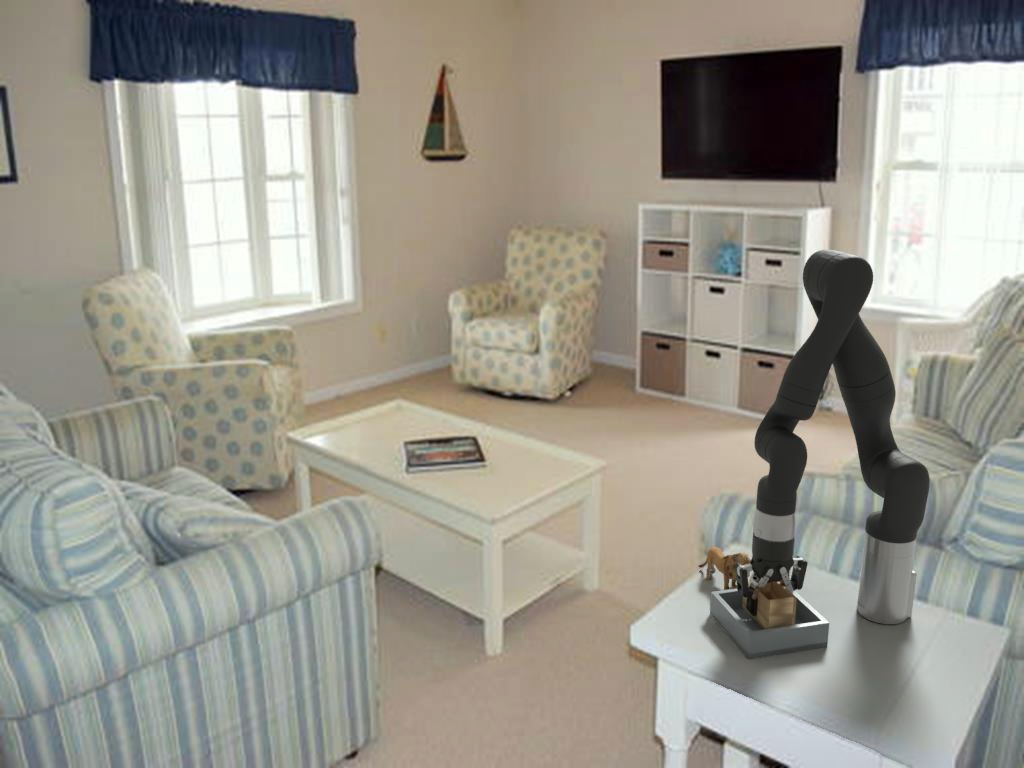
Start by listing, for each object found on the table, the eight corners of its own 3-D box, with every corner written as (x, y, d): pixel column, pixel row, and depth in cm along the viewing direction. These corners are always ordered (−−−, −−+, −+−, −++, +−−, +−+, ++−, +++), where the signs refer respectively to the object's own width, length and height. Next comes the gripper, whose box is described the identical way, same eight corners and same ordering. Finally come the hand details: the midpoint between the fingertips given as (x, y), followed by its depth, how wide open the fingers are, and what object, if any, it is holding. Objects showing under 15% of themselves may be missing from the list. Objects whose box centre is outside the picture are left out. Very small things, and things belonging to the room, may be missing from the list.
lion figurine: (756, 593, 189) (759, 554, 186) (738, 600, 186) (740, 560, 184) (707, 565, 201) (709, 528, 198) (688, 571, 198) (690, 534, 196)
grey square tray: (783, 604, 185) (784, 581, 183) (827, 646, 170) (829, 622, 168) (709, 614, 181) (711, 592, 180) (748, 659, 166) (750, 634, 165)
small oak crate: (770, 602, 179) (772, 575, 178) (794, 626, 171) (796, 597, 169) (742, 606, 178) (744, 579, 176) (765, 630, 170) (767, 602, 168)
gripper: (798, 518, 175) (792, 597, 179) (729, 526, 172) (724, 606, 176) (820, 535, 168) (812, 616, 172) (748, 544, 165) (742, 627, 169)
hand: (768, 611), depth 174 cm, fingers closed on small oak crate, 6 cm apart
